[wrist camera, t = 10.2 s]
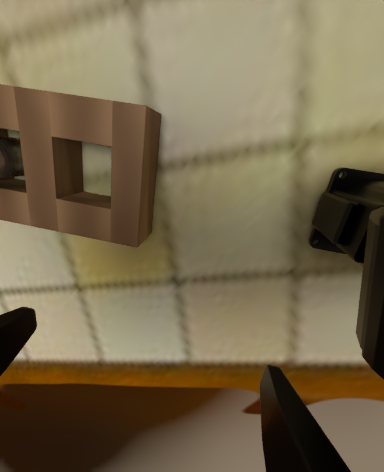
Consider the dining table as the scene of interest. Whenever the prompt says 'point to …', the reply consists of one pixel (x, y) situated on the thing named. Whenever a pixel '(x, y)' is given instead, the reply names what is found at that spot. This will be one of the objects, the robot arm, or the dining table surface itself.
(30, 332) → the robot arm
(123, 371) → the dining table surface
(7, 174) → the peg
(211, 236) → the dining table surface
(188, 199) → the dining table surface
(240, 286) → the dining table surface
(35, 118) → the socket block
